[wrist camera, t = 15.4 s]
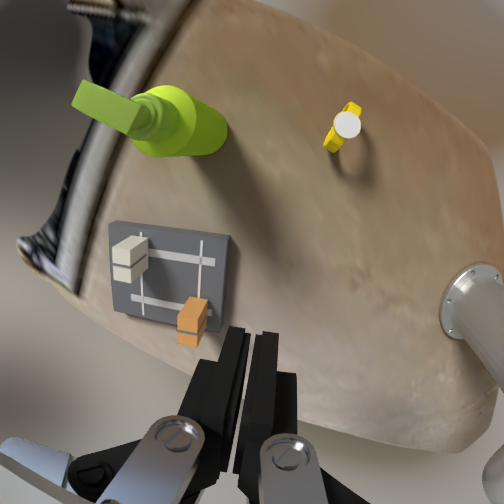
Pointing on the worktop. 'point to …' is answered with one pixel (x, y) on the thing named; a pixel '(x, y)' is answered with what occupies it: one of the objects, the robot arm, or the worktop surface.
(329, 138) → the watch
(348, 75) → the worktop surface
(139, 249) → the fader ivory
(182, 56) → the worktop surface
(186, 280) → the mixer panel
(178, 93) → the soap dispenser
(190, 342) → the fader orange
